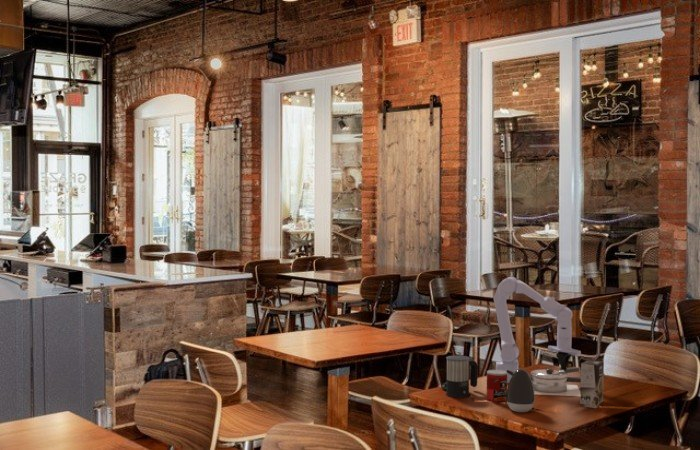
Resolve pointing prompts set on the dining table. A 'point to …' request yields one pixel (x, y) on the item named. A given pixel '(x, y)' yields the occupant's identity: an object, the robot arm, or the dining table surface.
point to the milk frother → (460, 376)
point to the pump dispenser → (520, 391)
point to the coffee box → (591, 383)
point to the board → (571, 391)
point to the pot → (552, 384)
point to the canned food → (496, 385)
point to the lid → (554, 373)
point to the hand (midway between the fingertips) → (563, 370)
